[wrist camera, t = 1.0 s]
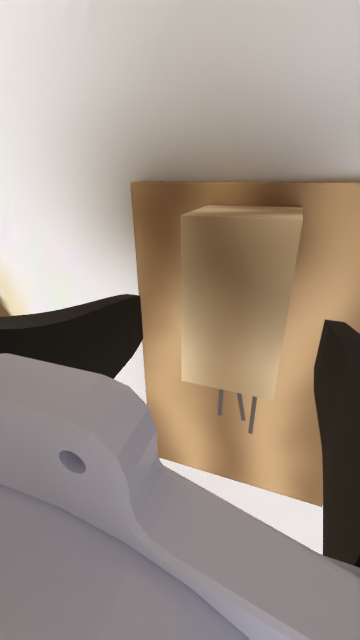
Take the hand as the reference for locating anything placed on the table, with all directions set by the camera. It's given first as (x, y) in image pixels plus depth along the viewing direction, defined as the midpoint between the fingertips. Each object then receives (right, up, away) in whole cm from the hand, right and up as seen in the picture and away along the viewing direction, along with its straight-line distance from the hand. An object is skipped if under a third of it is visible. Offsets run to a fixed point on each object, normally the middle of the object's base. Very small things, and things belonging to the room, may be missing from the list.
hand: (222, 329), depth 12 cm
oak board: (+3, -2, +9) cm, 10 cm away
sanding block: (+2, +3, +5) cm, 6 cm away
